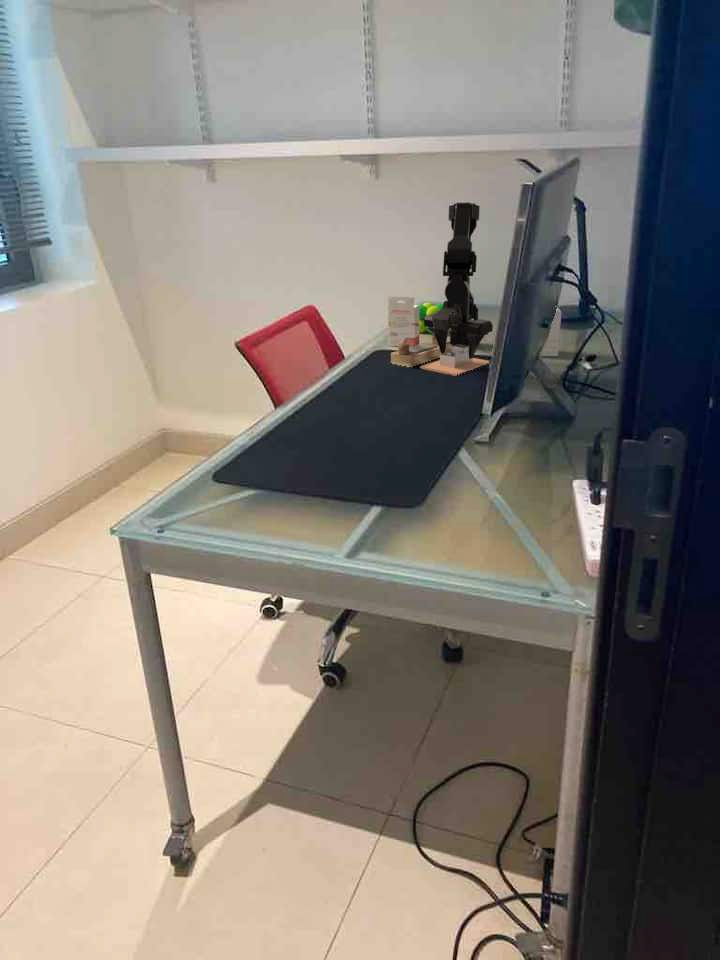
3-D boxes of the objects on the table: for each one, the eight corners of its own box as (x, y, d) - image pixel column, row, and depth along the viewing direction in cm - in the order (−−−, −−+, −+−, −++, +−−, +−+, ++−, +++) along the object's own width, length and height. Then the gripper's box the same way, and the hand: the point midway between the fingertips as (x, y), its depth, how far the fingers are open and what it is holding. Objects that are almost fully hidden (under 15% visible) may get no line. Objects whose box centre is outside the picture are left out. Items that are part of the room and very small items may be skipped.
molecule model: (436, 336, 239) (448, 330, 245) (436, 307, 235) (449, 303, 242) (411, 333, 243) (424, 328, 250) (411, 305, 240) (424, 301, 246)
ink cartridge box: (419, 344, 229) (420, 294, 223) (414, 347, 225) (415, 297, 219) (393, 342, 232) (392, 293, 226) (387, 346, 228) (387, 296, 222)
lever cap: (457, 359, 209) (458, 343, 207) (472, 362, 206) (473, 345, 204) (439, 365, 203) (439, 348, 202) (454, 368, 200) (455, 351, 198)
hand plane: (431, 351, 221) (432, 330, 218) (451, 354, 216) (451, 333, 214) (390, 363, 209) (390, 342, 206) (410, 367, 204) (410, 345, 202)
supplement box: (554, 350, 218) (558, 306, 213) (558, 357, 211) (562, 311, 206) (528, 350, 219) (531, 306, 214) (531, 357, 212) (534, 311, 207)
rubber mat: (456, 356, 214) (456, 354, 214) (491, 363, 206) (492, 361, 206) (420, 368, 203) (420, 366, 203) (456, 376, 196) (456, 373, 195)
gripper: (410, 297, 198) (410, 356, 204) (469, 305, 186) (467, 367, 192) (437, 291, 205) (436, 348, 212) (495, 298, 194) (492, 358, 200)
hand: (456, 355), depth 204 cm, fingers open, 9 cm apart
